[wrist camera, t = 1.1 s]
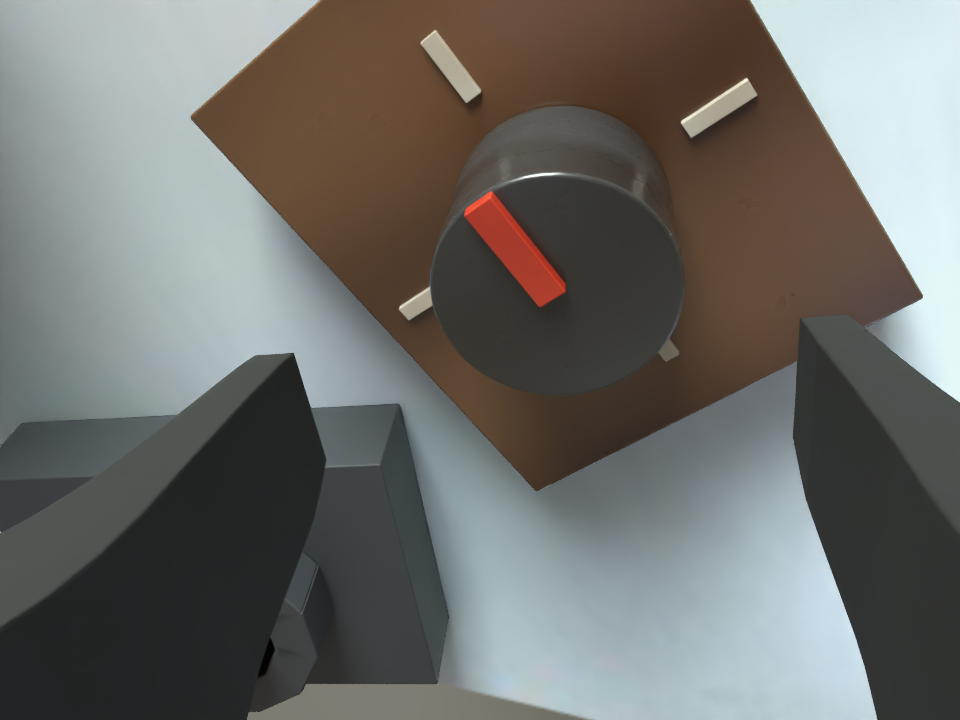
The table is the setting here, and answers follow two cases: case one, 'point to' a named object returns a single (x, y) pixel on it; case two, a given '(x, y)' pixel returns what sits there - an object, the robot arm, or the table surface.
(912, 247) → the table surface
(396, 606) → the push button base
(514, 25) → the dial panel
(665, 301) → the dial
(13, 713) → the robot arm
